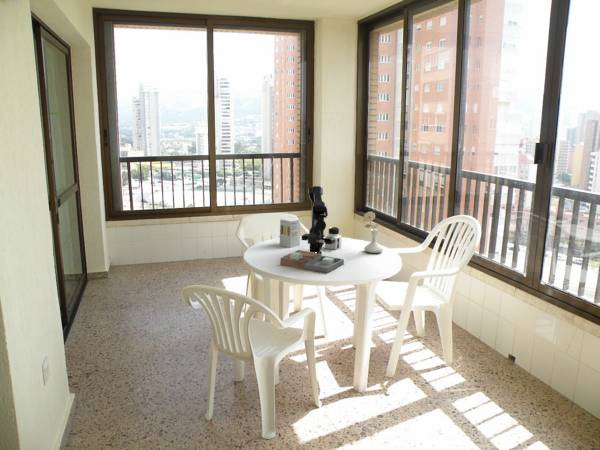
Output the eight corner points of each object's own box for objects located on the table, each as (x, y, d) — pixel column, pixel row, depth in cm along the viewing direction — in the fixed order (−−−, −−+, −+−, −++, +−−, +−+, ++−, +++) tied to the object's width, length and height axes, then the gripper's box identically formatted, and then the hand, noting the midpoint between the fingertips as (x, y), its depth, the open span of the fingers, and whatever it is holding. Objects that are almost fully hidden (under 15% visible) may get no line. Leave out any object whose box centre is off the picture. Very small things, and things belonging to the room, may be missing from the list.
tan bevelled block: (298, 256, 306) (298, 249, 305) (321, 260, 298) (321, 253, 297) (280, 264, 289) (280, 257, 288) (304, 269, 281) (304, 262, 280)
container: (341, 247, 328) (342, 227, 325) (335, 250, 321) (336, 229, 318) (330, 245, 332) (331, 225, 329) (324, 248, 325) (325, 227, 322)
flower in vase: (382, 249, 324) (384, 210, 319) (383, 254, 313) (385, 213, 308) (361, 249, 325) (363, 209, 320) (361, 253, 314) (363, 212, 309)
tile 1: (294, 256, 291) (294, 251, 291) (302, 257, 289) (302, 253, 288) (290, 258, 287) (290, 253, 286) (298, 259, 285) (298, 255, 284)
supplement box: (279, 245, 331) (279, 218, 327) (289, 242, 338) (289, 216, 334) (290, 247, 325) (290, 221, 321) (300, 245, 332) (300, 219, 328)
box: (321, 260, 298) (321, 255, 298) (343, 264, 292) (344, 259, 291) (304, 269, 281) (304, 263, 281) (327, 273, 275) (327, 268, 274)
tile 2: (334, 258, 292) (334, 262, 292) (326, 257, 294) (326, 261, 295) (330, 260, 288) (330, 264, 288) (322, 259, 290) (322, 263, 291)
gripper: (296, 227, 288) (296, 254, 291) (327, 231, 279) (326, 259, 282) (306, 223, 297) (306, 250, 301) (336, 227, 288) (335, 255, 292)
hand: (317, 253), depth 293 cm, fingers closed
